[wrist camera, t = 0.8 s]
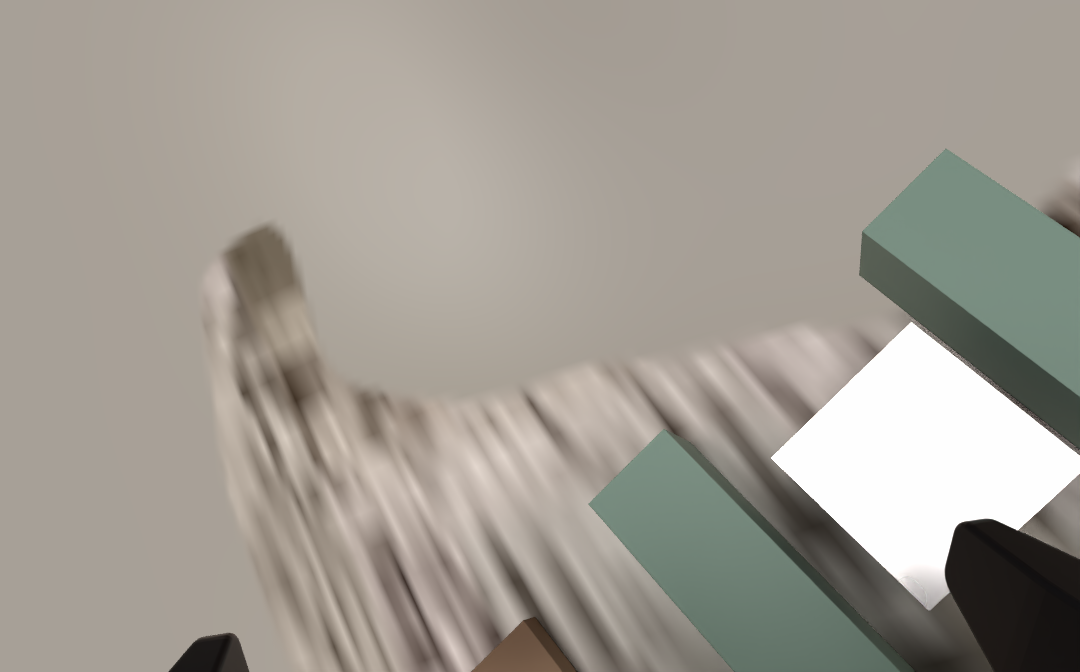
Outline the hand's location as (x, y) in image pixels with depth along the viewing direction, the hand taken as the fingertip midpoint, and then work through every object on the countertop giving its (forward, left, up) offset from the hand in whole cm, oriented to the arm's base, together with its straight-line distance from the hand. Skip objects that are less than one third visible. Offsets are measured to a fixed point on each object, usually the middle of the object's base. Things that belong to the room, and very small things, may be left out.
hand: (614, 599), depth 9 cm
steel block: (-1, -5, -16) cm, 16 cm away
